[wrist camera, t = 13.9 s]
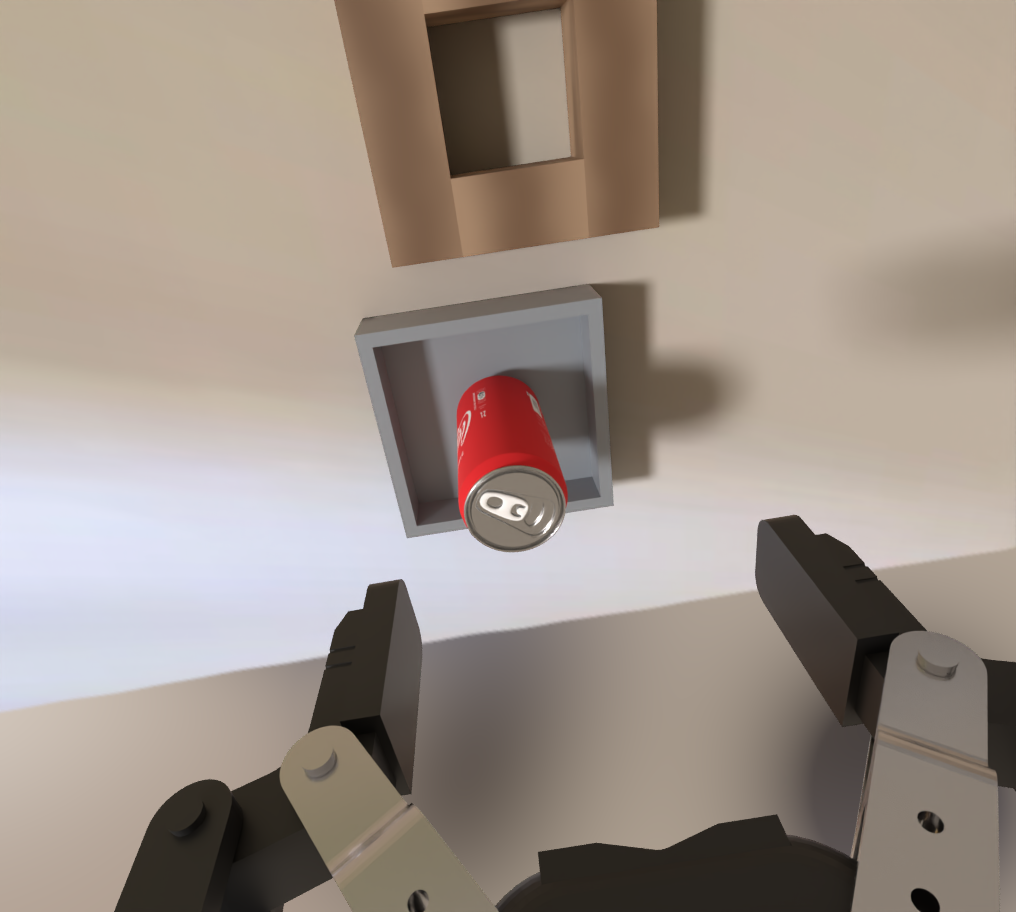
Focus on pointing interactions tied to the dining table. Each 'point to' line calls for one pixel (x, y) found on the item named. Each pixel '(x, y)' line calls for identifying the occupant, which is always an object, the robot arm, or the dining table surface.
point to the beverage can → (507, 467)
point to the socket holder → (521, 188)
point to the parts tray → (469, 358)
